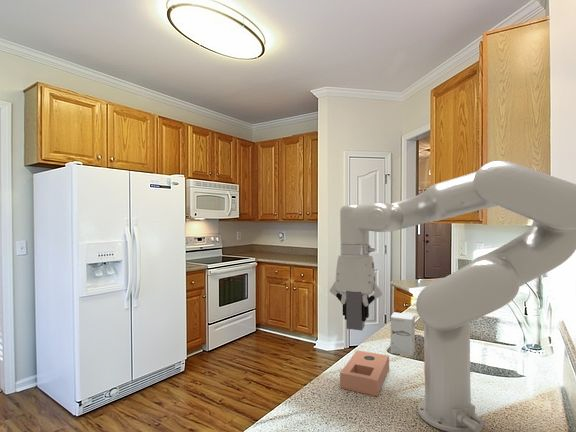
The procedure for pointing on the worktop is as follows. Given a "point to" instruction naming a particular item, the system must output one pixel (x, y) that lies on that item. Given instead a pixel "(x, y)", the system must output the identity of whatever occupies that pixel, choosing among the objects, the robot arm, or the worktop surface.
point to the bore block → (365, 372)
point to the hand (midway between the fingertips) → (355, 318)
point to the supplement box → (403, 333)
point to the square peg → (354, 310)
